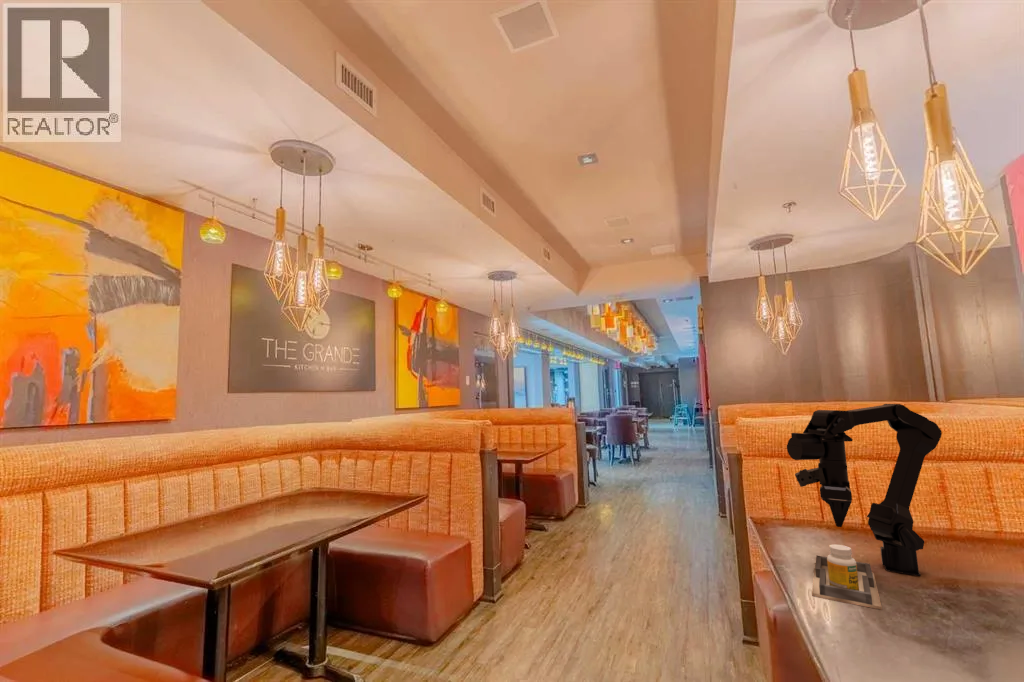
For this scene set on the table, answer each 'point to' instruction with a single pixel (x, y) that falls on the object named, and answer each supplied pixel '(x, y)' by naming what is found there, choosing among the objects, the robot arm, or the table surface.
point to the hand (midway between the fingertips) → (838, 522)
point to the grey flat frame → (862, 597)
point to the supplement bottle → (842, 567)
